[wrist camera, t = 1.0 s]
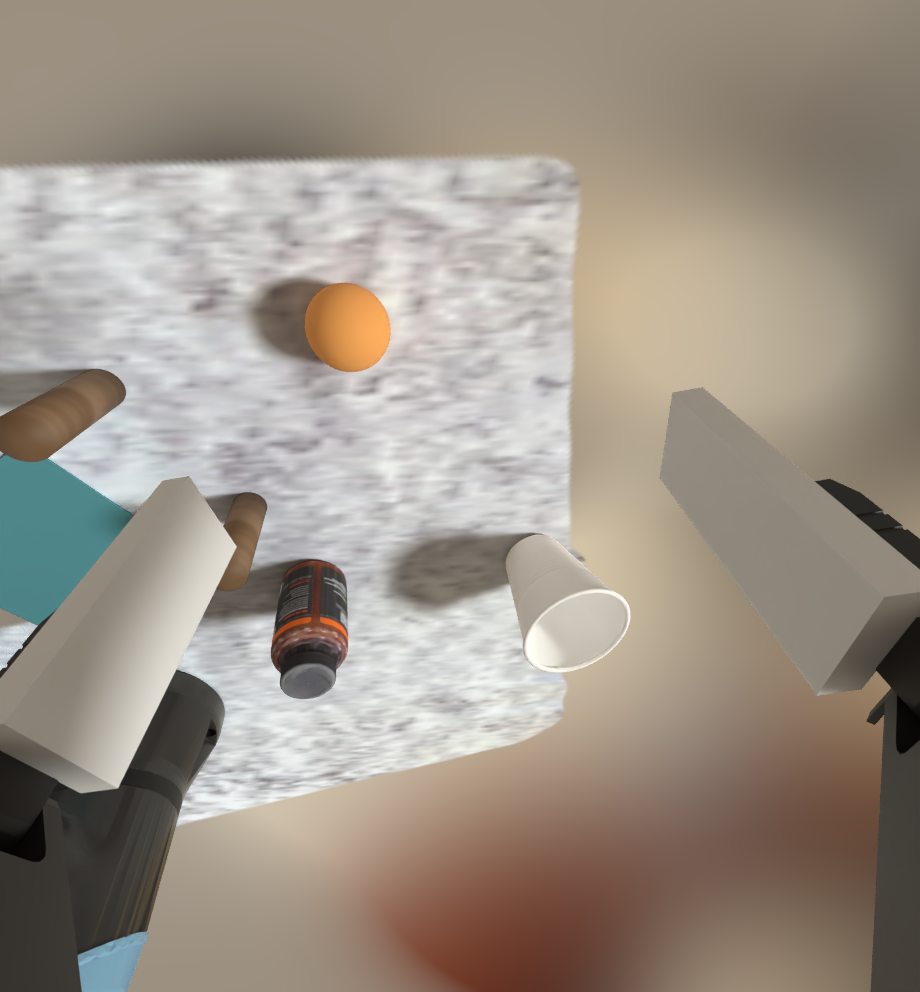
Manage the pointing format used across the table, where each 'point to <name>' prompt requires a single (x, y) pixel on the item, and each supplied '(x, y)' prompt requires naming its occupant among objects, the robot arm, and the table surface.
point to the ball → (347, 327)
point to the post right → (242, 538)
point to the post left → (59, 415)
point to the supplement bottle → (310, 629)
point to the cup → (562, 607)
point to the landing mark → (49, 535)
